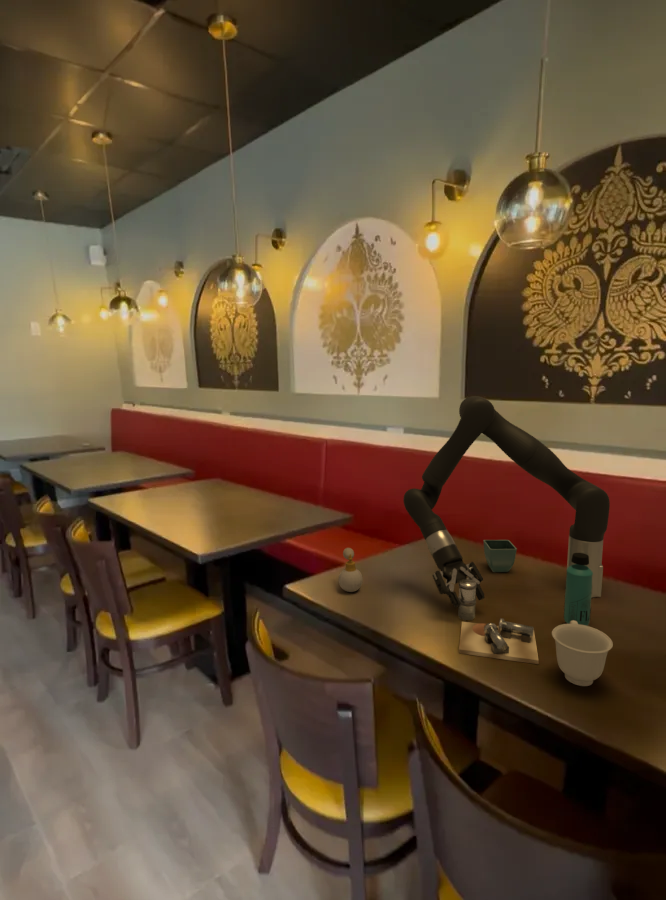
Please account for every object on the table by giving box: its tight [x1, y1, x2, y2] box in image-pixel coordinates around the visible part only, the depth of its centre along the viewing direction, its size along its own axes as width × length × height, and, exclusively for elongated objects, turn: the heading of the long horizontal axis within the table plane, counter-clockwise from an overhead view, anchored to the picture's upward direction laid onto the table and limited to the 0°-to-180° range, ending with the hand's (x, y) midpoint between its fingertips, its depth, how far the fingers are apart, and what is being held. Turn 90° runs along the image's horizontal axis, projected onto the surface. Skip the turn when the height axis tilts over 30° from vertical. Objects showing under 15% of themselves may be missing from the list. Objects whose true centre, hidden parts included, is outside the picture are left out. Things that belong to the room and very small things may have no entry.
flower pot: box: [483, 539, 518, 573], centre depth 175 cm, size 9×9×9 cm
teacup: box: [551, 620, 614, 687], centre depth 116 cm, size 12×15×10 cm
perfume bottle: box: [338, 547, 364, 593], centre depth 162 cm, size 8×10×12 cm
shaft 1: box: [484, 622, 509, 654], centre depth 127 cm, size 8×4×4 cm, turn 3°
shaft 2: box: [498, 617, 535, 643], centre depth 131 cm, size 8×4×4 cm, turn 63°
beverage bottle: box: [563, 553, 593, 626], centre depth 136 cm, size 6×7×20 cm
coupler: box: [457, 579, 477, 621], centre depth 143 cm, size 5×5×10 cm
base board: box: [458, 621, 539, 665], centre depth 130 cm, size 18×14×1 cm
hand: (470, 602), depth 142 cm, fingers open, 8 cm apart
